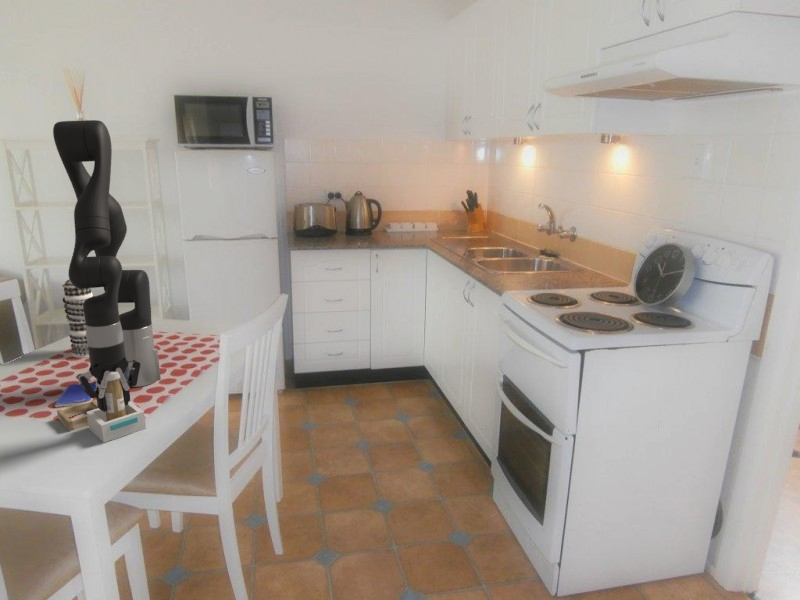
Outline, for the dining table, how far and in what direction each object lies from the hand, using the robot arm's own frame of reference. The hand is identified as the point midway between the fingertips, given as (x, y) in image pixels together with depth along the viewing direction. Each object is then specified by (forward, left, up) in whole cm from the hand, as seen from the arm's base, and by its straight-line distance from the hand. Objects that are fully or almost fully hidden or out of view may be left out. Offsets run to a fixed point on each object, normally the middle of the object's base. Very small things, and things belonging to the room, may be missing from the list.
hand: (114, 406), depth 133 cm
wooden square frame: (+4, -11, -6) cm, 13 cm away
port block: (0, 0, -6) cm, 6 cm away
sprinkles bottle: (0, 0, -4) cm, 4 cm away
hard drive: (0, -26, -6) cm, 27 cm away
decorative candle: (-13, -59, -6) cm, 61 cm away
